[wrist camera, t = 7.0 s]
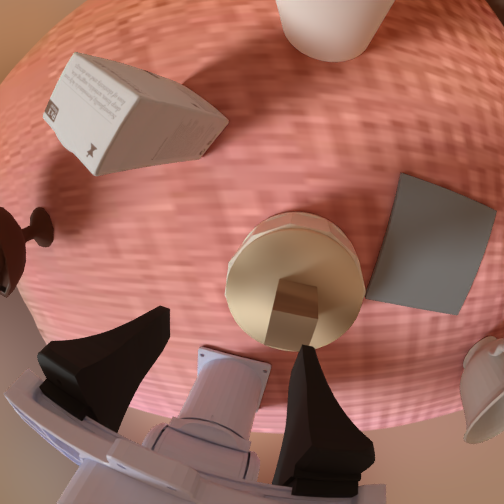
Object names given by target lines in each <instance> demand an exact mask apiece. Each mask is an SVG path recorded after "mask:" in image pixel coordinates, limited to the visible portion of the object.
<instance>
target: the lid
mask: <svg viewBox="0 0 504 504" xmlns="http://www.w3.org/2000/svg"><path fill="white" fill-rule="evenodd" d="M226 297H227V302H228V306H229V309H230V312H231V314H232V316H233V317H234V319H235V321H236V322H237V324H238V325H239V326H240V327H241V328H242V329H243V330H244V332H246V333H247V334H248V335H249V336H250V337H252V338H253V339H255V340H256V341H258V342H260V343H262V344H264V345H266V346H269V347H271V348H275V349H279V350H284V351H297V352H299V351H300V348H301V346H302V344H303V345H308V346H312V347H314V348H315V349H317V348H320V347H323V346H325V345H328V344H330V343H331V342H333V341H335V340H336V339H338V338H339V337H341V336H342V335H343V334H344V333H345V332H346V331H347V330H348V329H349V328H350V327H351V326H352V324H353V323H354V321H355V320H356V318H357V316H358V314H359V312H360V308H361V305H362V300H363V284H362V279H361V276H360V273H359V270H358V267H357V265H356V263H355V261H354V259H353V258H352V257H351V255H350V254H349V252H348V251H347V250H346V249H345V248H344V247H343V246H342V245H341V244H339V243H338V242H337V241H336V240H334V239H332V238H331V237H329V236H327V235H325V234H322V233H320V232H317V231H314V230H310V229H303V228H286V229H279V230H275V231H271V232H269V233H266V234H264V235H262V236H260V237H258V238H256V239H255V240H253V241H252V242H251V243H249V244H248V245H247V246H246V247H245V248H244V249H243V250H242V251H241V253H240V254H239V255H238V257H237V258H236V260H235V261H234V263H233V265H232V267H231V269H230V272H229V274H228V278H227V283H226Z"/></svg>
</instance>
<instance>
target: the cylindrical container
mask: <svg viewBox="0 0 504 504" xmlns="http://www.w3.org/2000/svg"><path fill="white" fill-rule="evenodd" d="M394 1H395V0H276V3H277V7H278V11H279V15H280V19H281V23H282V27H283V31H284V34H285V36H286V38H287V39H288V41H289V42H290V43H291V44H292V45H293V46H294V47H295V48H296V49H297V50H299V51H300V52H301V53H303V54H305V55H307V56H309V57H311V58H314V59H317V60H320V61H326V62H343V61H347V60H351V59H354V58H355V57H357V56H359V55H360V54H362V53H363V52H364V51H365V50H366V48H367V47H368V45H369V43H370V42H371V40H372V38H373V37H374V35H375V33H376V32H377V30H378V28H379V26H380V25H381V23H382V21H383V20H384V18H385V16H386V15H387V13H388V11H389V10H390V8H391V6H392V5H393V3H394Z"/></svg>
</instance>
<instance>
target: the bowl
mask: <svg viewBox="0 0 504 504" xmlns="http://www.w3.org/2000/svg"><path fill="white" fill-rule="evenodd" d="M286 228H303V229H310V230H314V231H317V232H320V233H322V234H325V235H327V236H329V237H331V238H332V239H334V240H336V241H337V242H338V243H339V244H341V245H342V246H343V247H344V248H345V249H346V250H347V251H348V252H349V254H350V255H351V257H352V258H353V259H354V261H355V263H356V265H357V267H358V270H359V273H360V276H361V279H362V284H363V298H364V296H365V293H366V290H365V285H364V281H363V276H362V272H361V267H360V263H359V259H358V256H357V254H356V252H355V250H354V247H353V245H352V243H351V242H350V241H349V239H348V238H347V236H346V235H345V234H344V233H343V231H342V230H341V229H340V228H339V227H337V226H336V225H335V224H334V223H332V222H331V221H329V220H327V219H326V218H324V217H321V216H319V215H316V214H312V213H308V212H294V211H293V212H285V213H281V214H277V215H274V216H272V217H269V218H268V219H266V220H264V221H262V222H261V223H260V224H258V225H257V226H256V227H255V228H254V229H253V230H252V231H251V232H250V233H249V234H248V236H247V237H246V238H245V240H244V241H243V243H242V245H241V246H240V247H239V248H238V250H237V251H236V253H235V254H234V256H233V257H232V259H231V260H230V261H229V264H228V272H227V278H228V274H229V272H230V269H231V267H232V265H233V263H234V261H235V260H236V258H237V257H238V255H239V254H240V253H241V251H242V250H243V249H244V248H245V247H246V246H247V245H248V244H249V243H251V242H252V241H253V240H255V239H256V238H258V237H260V236H262V235H264V234H266V233H269V232H271V231H275V230H279V229H286ZM226 283H227V280H226ZM225 296H226V289H225ZM226 299H227V297H226ZM362 301H363V300H362Z"/></svg>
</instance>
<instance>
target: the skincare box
mask: <svg viewBox="0 0 504 504" xmlns="http://www.w3.org/2000/svg"><path fill="white" fill-rule="evenodd" d="M43 118H44V120H45V121H46V122H47V123H48V124H49V125H50V127H51V128H52V129H53V130H54V131H55V133H56V135H57V137H58V139H59V141H60V142H61V143H62V145H63V146H64V147H65V148H66V149H67V150H69V151H70V152H72V153H74V154H75V156H76V157H77V158H78V159H79V160H80V161H81V162H82V163H83V164H84V165H85V166H86V168H87V169H88V170H89V171H90V172H91V173H92V174H93V175H94V176H101V175H106V174H110V173H115V172H120V171H126V170H131V169H137V168H142V167H148V166H155V165H161V164H168V163H175V162H183V161H191V160H199V159H200V158H201V157H202V156H203V154H204V153H205V152H206V150H207V149H208V148H209V147H210V145H211V144H212V143H213V142H214V140H215V139H216V138H217V137H218V136H219V134H220V133H221V132H222V131H223V129H224V128H225V127H226V126H227V125H228V123H229V121H228V119H227V118H226V117H225V116H224V115H223V114H222V113H220V112H219V111H218V110H217V109H216V108H215V107H213V106H212V105H211V104H210V103H208V102H207V101H206V100H204V99H203V98H202V97H200V96H199V95H197V94H196V93H194V92H193V91H192V90H190V89H189V88H187V87H185V86H184V85H182V84H180V83H178V82H175V81H173V80H170V79H167V78H165V77H162V76H159V75H156V74H154V73H151V72H148V71H145V70H142V69H139V68H136V67H133V66H129V65H126V64H123V63H120V62H116V61H112V60H108V59H104V58H99V57H95V56H91V55H87V54H82V53H78V52H75V53H74V54H73V55H72V57H71V58H70V60H69V62H68V63H67V65H66V67H65V69H64V70H63V72H62V74H61V76H60V78H59V80H58V82H57V84H56V87H55V89H54V91H53V93H52V95H51V98H50V100H49V102H48V105H47V107H46V109H45V112H44V114H43Z"/></svg>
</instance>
